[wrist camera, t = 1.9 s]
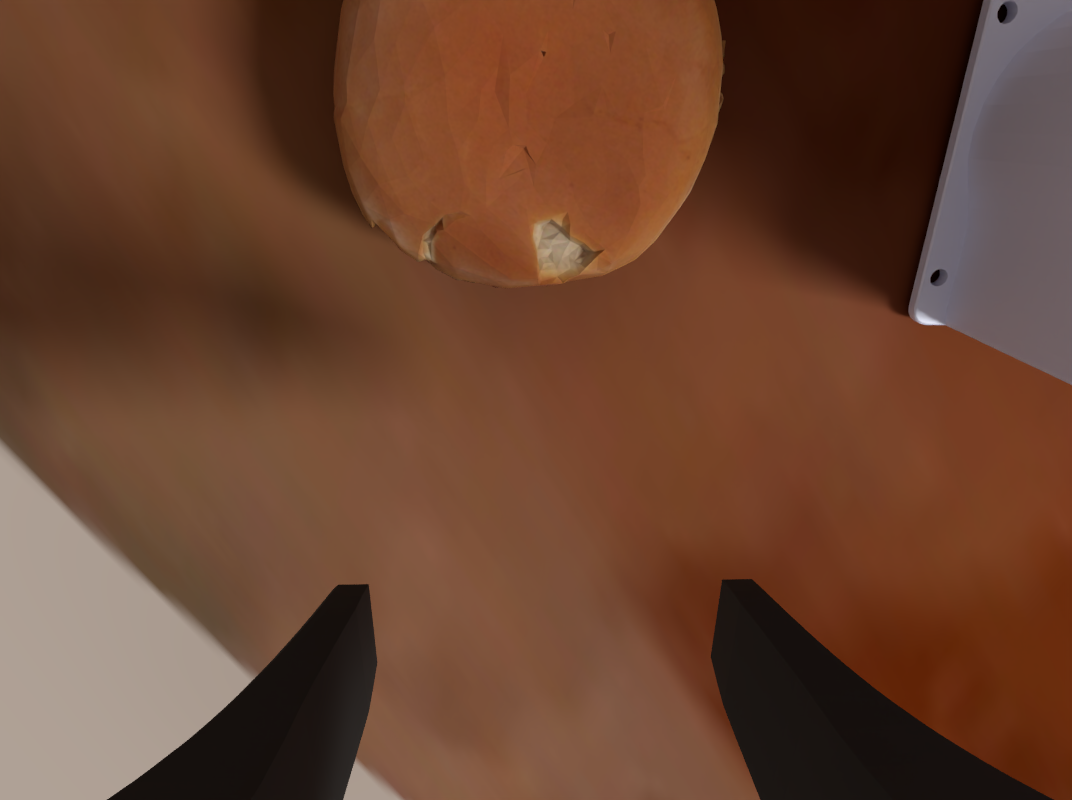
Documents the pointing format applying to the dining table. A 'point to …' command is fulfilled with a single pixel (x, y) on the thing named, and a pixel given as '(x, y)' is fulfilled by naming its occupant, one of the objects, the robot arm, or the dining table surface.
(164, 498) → the dining table surface
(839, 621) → the dining table surface
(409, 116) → the burger
